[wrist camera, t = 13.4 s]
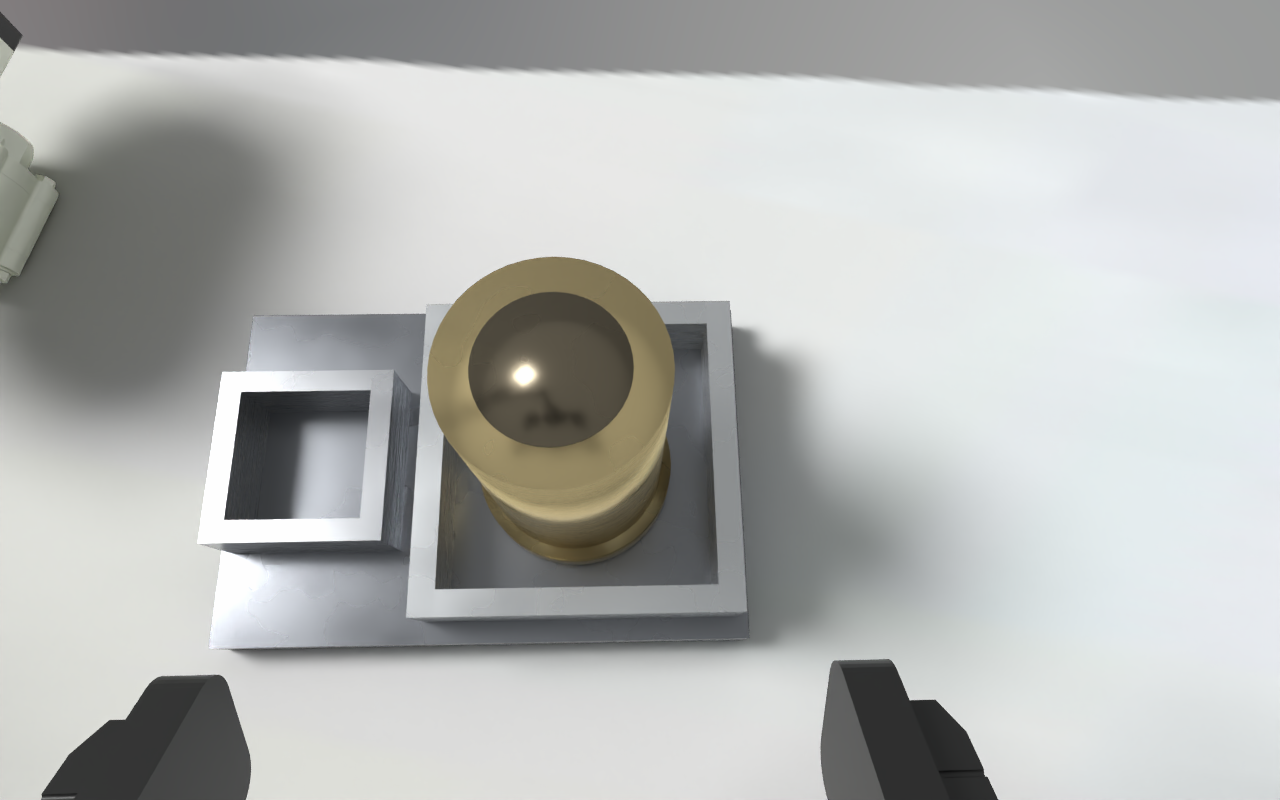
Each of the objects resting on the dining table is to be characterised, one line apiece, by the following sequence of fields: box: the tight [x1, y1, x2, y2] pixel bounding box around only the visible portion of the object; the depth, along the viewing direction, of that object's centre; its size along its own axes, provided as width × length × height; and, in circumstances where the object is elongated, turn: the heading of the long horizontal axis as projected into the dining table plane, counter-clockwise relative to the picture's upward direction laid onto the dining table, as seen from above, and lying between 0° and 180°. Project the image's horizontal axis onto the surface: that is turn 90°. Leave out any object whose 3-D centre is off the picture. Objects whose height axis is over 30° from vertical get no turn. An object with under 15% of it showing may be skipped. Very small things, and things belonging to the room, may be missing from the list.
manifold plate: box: [198, 301, 749, 650], centre depth 24 cm, size 15×10×3 cm, turn 91°
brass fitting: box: [427, 257, 675, 565], centre depth 20 cm, size 5×5×9 cm
